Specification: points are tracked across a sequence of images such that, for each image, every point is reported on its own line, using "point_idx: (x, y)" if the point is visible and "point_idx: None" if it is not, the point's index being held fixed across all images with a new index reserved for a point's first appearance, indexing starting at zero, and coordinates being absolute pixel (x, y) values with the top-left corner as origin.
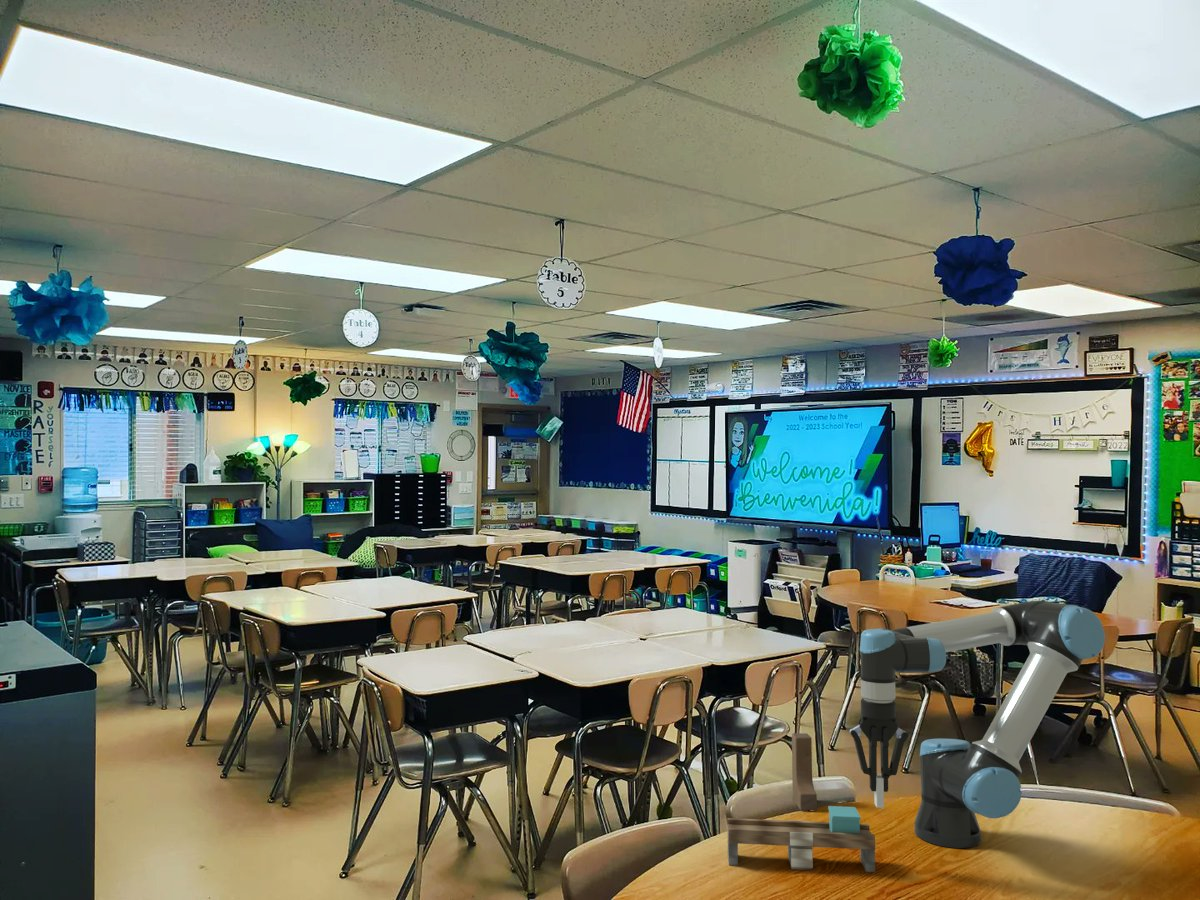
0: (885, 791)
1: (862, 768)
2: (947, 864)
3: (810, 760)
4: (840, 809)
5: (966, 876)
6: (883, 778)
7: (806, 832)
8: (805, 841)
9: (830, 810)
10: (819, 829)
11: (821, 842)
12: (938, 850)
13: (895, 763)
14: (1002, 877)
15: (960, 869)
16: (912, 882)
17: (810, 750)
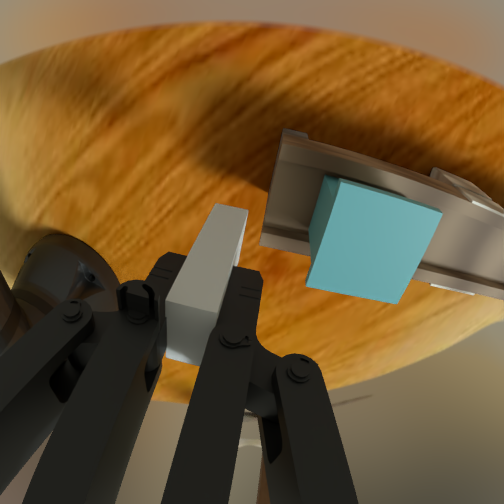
0: (178, 254)
1: (326, 395)
2: (96, 163)
3: (264, 473)
4: (375, 271)
5: (79, 104)
6: (166, 299)
7: (483, 210)
8: (476, 196)
9: (416, 267)
10: None
11: (440, 184)
12: (97, 231)
13: (26, 362)
14: (27, 108)
15: (79, 138)
16: (209, 64)
17: (263, 489)
